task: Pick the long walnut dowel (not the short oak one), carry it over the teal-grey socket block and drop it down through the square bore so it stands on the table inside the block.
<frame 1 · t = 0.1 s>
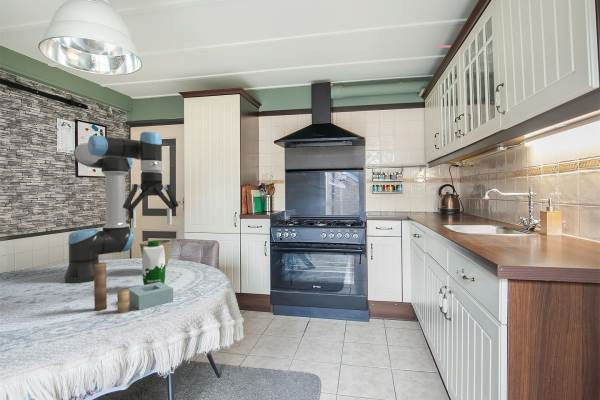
hand: (152, 225, 121), 28 cm above the table, fingers open, 13 cm apart
milk carton: (154, 289, 131), on the table
oak pin short: (123, 311, 106), on the table
plant pot: (156, 273, 157), on the table
walnut pin long: (100, 308, 108), on the table
socket block: (150, 301, 116), on the table
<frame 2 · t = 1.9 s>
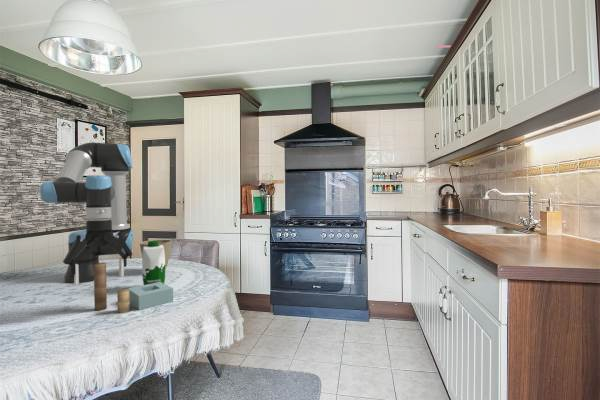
hand: (100, 280, 108), 10 cm above the table, fingers open, 13 cm apart
nothing on the table moved.
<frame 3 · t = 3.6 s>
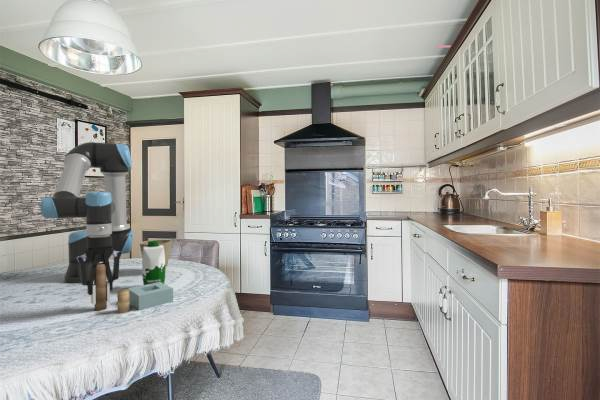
hand: (100, 301, 108), 3 cm above the table, fingers closed on walnut pin long, 3 cm apart
walnut pin long: (100, 308, 108), on the table, touching gripper
everything else where it was.
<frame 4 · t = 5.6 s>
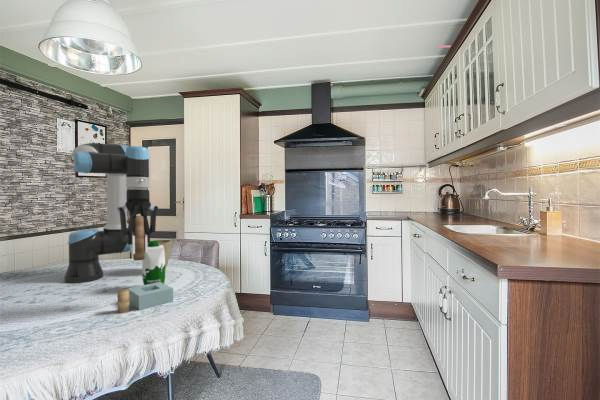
hand: (139, 252, 113), 19 cm above the table, fingers closed on walnut pin long, 3 cm apart
walnut pin long: (139, 259, 113), point 16 cm above the table, touching gripper
everything else where it was.
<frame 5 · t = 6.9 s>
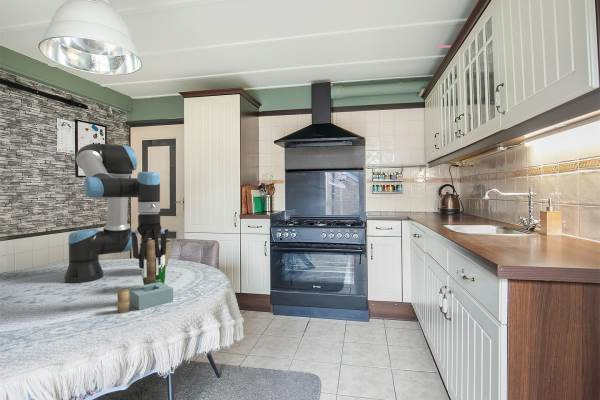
hand: (150, 275, 115), 10 cm above the table, fingers closed on walnut pin long, 3 cm apart
walnut pin long: (150, 282, 115), point 7 cm above the table, touching gripper
everything else where it was.
when the fingers open (6 cm above the table, at t = 7.8 s): walnut pin long drops 3 cm, resting in socket block.
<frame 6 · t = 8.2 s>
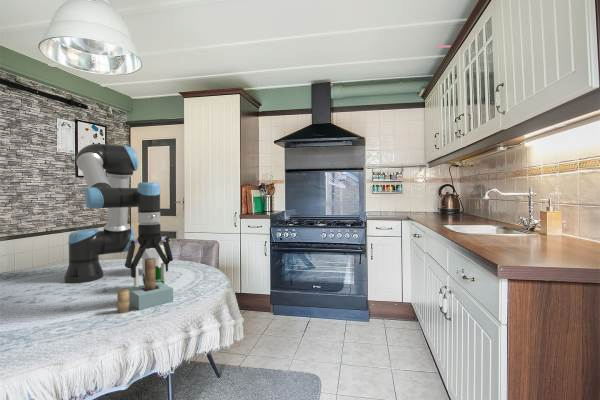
hand: (150, 283, 115), 7 cm above the table, fingers open, 9 cm apart
walnut pin long: (150, 301, 116), resting in socket block
everything else where it was.
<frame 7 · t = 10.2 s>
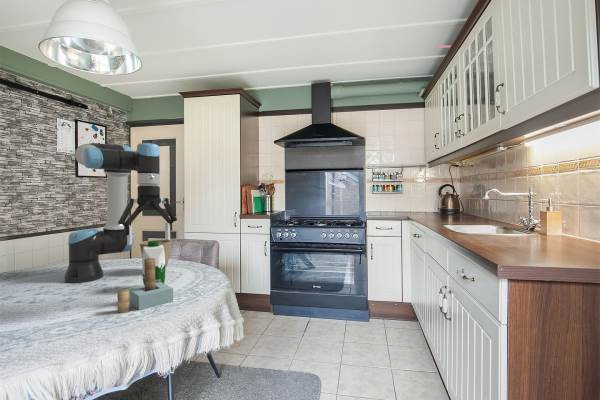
hand: (149, 241, 115), 23 cm above the table, fingers open, 13 cm apart
nothing on the table moved.
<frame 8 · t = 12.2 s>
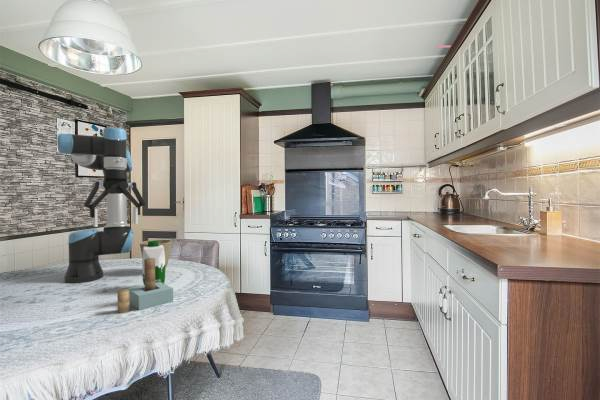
hand: (116, 225, 117), 29 cm above the table, fingers open, 13 cm apart
nothing on the table moved.
at the end: walnut pin long 0.0 cm off-centre on the socket block, point 0.0 cm above the socket block's base; walnut pin long tilted 1°; the gripper is holding nothing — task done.
